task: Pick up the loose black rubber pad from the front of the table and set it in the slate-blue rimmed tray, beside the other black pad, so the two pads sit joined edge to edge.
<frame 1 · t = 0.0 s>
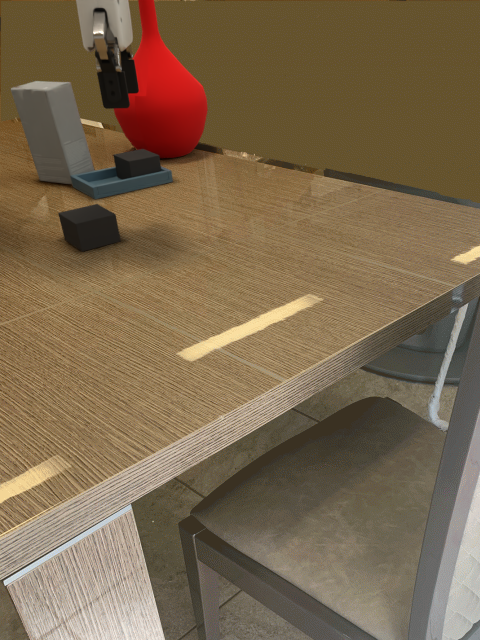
hand: (122, 100, 84), 18 cm above the table, tool pointing down, fingers open, 9 cm apart
seated pad: (140, 177, 117), resting on tray
tray: (123, 184, 115), on the table
loose pad: (92, 240, 94), on the table
cosmetic box: (65, 180, 118), on the table
vase: (167, 153, 133), on the table
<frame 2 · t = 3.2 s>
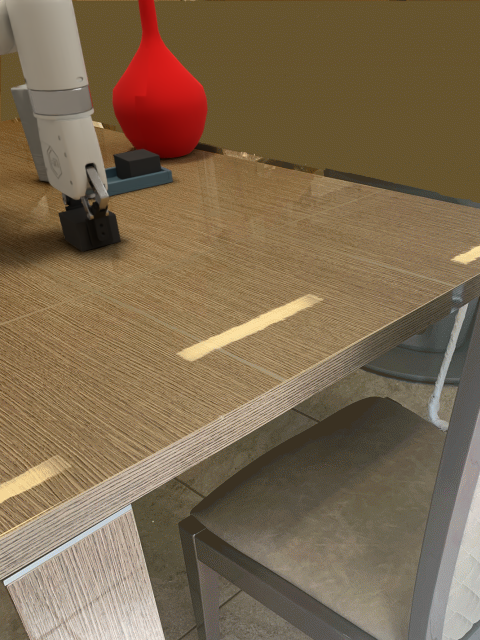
hand: (92, 236, 93), 1 cm above the table, tool pointing down, fingers closed on loose pad, 6 cm apart
loose pad: (92, 240, 94), on the table, touching gripper
everything else where it was.
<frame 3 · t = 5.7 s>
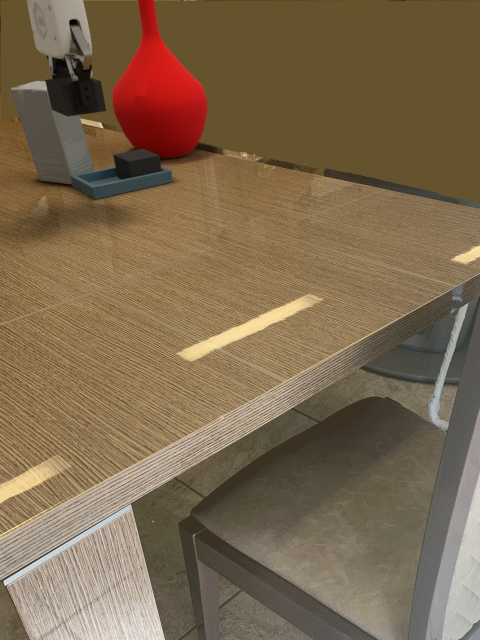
hand: (77, 106, 95), 15 cm above the table, tool pointing down, fingers closed on loose pad, 6 cm apart
loose pad: (79, 110, 95), point 15 cm above the table, touching gripper
everything else where it was.
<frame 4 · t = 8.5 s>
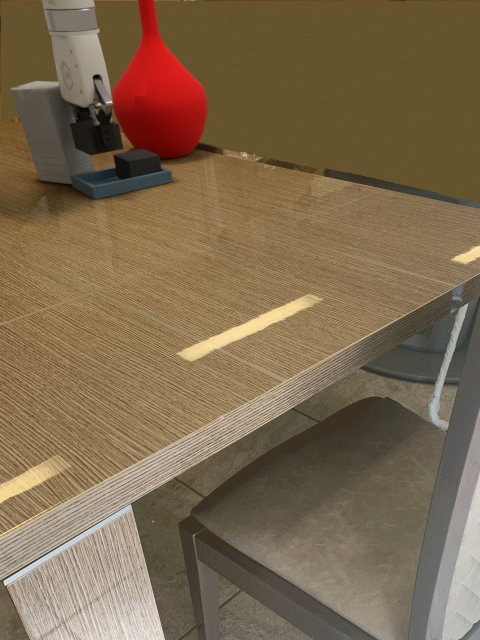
hand: (98, 145, 109), 7 cm above the table, tool pointing down, fingers closed on loose pad, 6 cm apart
loose pad: (99, 148, 110), point 7 cm above the table, touching gripper
everything else where it was.
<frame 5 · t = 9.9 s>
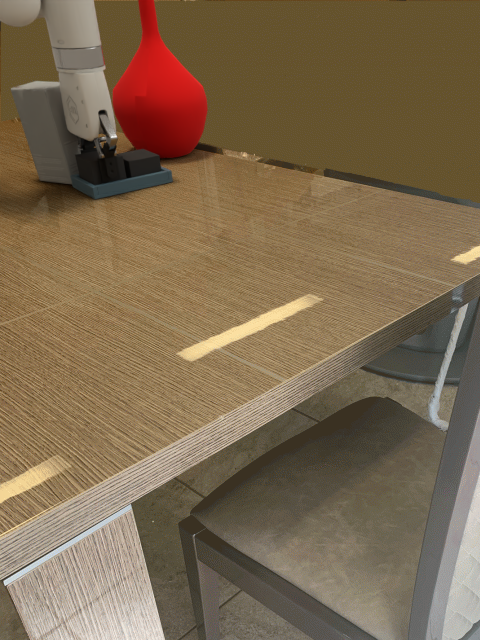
hand: (102, 175, 112), 2 cm above the table, tool pointing down, fingers closed on loose pad, 6 cm apart
loose pad: (103, 179, 113), point 2 cm above the table, touching gripper
everything else where it was.
when the fingers open (2 cm above the table, at t = 14.0 s): loose pad drops 1 cm, resting on tray.
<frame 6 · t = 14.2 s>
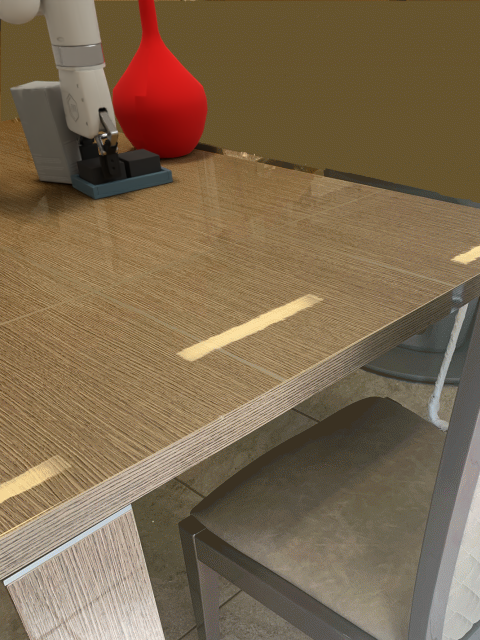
hand: (102, 172, 112), 3 cm above the table, tool pointing down, fingers open, 7 cm apart
loose pad: (104, 185, 113), resting on tray
cosmetic box: (65, 180, 118), on the table, touching gripper
everything else where it was.
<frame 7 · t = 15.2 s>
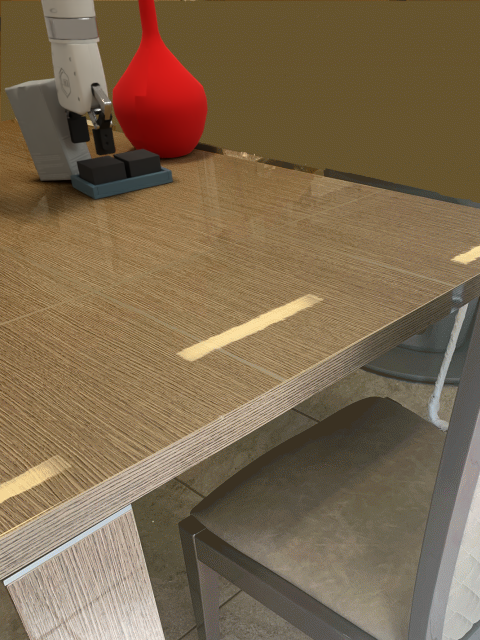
hand: (93, 147, 109), 7 cm above the table, tool pointing down, fingers open, 9 cm apart
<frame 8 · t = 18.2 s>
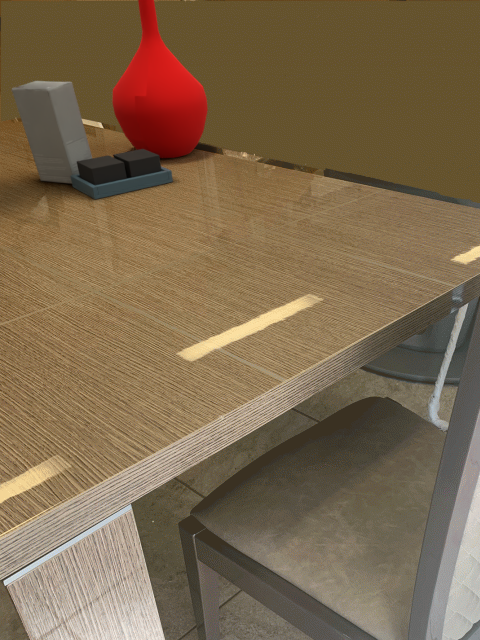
cosmetic box: (67, 180, 118), on the table
everything else where it was.
at the end: loose pad 0.0 cm from the target spot in the tray, point 0.5 cm above the tray's base; loose pad 6.9 cm from the seated pad (horizontally); loose pad tilted 0° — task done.
